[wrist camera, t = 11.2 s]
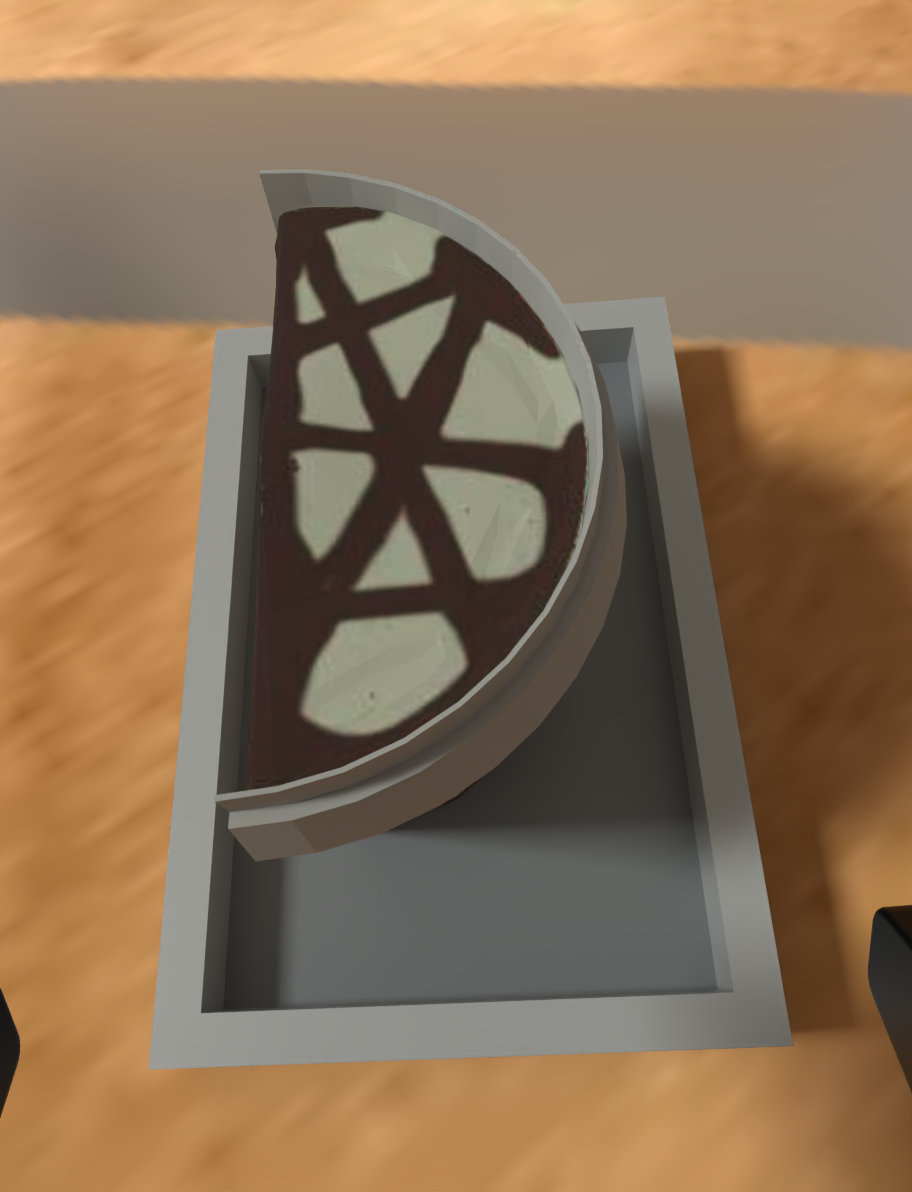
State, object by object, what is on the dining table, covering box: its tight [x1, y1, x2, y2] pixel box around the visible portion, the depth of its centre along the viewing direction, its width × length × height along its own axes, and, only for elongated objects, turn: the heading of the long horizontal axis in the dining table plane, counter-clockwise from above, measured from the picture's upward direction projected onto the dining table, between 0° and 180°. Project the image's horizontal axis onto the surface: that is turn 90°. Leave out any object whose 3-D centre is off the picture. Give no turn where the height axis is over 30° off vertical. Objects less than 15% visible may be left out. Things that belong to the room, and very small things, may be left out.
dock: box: [149, 297, 793, 1069], centre depth 22 cm, size 13×19×2 cm
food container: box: [214, 169, 627, 861], centre depth 18 cm, size 12×6×10 cm, turn 2°
